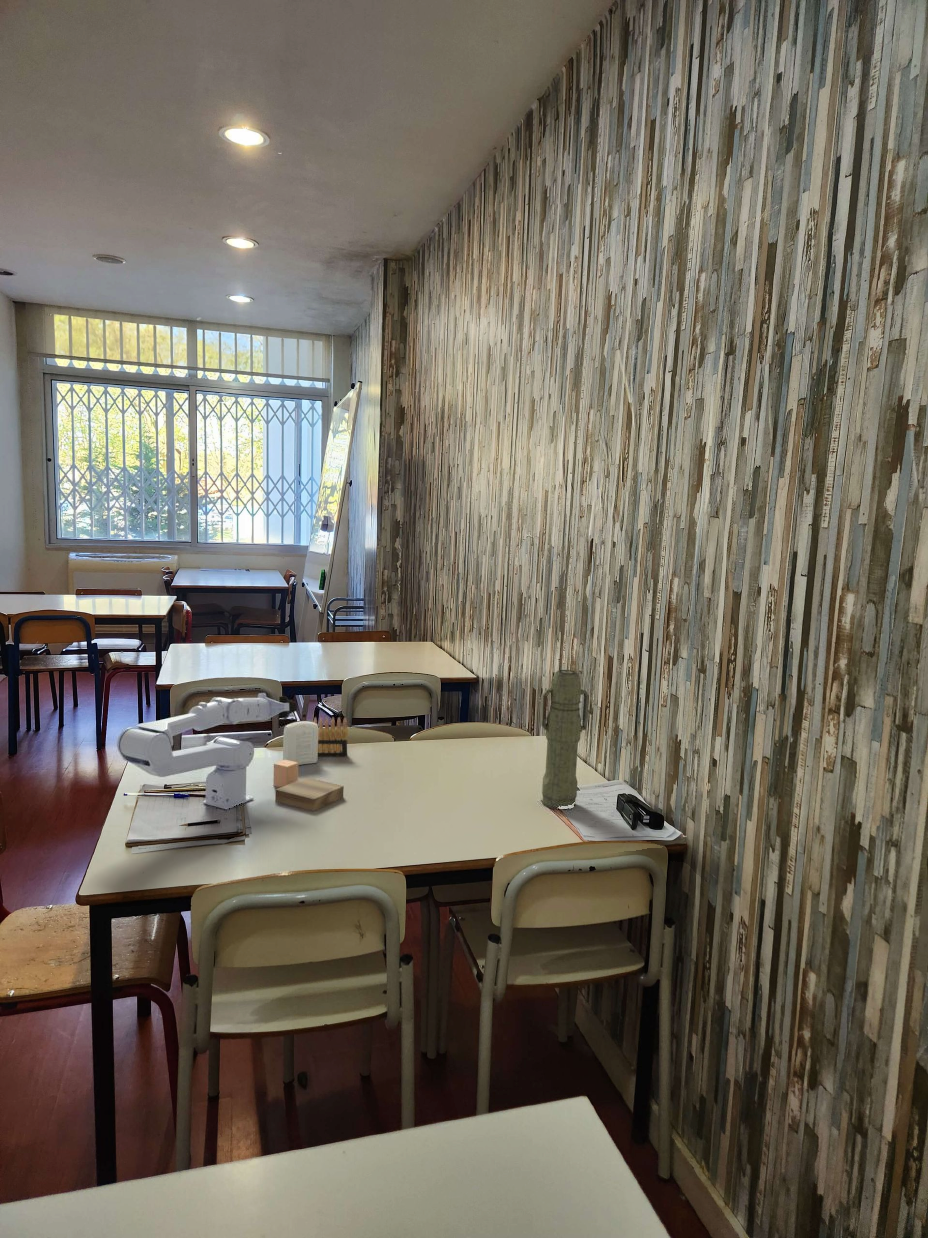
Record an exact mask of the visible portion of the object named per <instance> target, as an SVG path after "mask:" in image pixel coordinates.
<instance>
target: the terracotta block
mask: <svg viewBox="0 0 928 1238" xmlns="http://www.w3.org/2000/svg"><path fill="white" fill-rule="evenodd" d="M298 780H299V765H298V762H293V761H289V760H283V759H282V760H280V761H277V762H275V763H273V787H277V788H281V787H283V786H286V785H288V784H291V783H293V782H296V781H298Z"/></svg>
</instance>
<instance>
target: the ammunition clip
mask: <svg viewBox="0 0 928 1238" xmlns="http://www.w3.org/2000/svg"><path fill="white" fill-rule="evenodd" d="M323 720H324V719H323V717H322V716H320V718H319V722H318V720H317V717H316V716H315V717H314V718H313V721H312V722H314V723H316V724H317V725H318V730H319V731H318V756H317V758H323V757H325V758H327V757H328V758H329V757H330V758H332V757H333V758H335V757H337V758H339V757H340V758H342V757H343V758H345V757H346V758H347V757H348V723H347V721H348V720H347V717H346V716H344V718H343V722H342V721H341V720H342V719H341V717H340V716H339V717H338V718H337V722H336V721H335V717H334V716H332V718H331V721H330V720H329V717H328V716H326V717H325V721H323Z"/></svg>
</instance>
